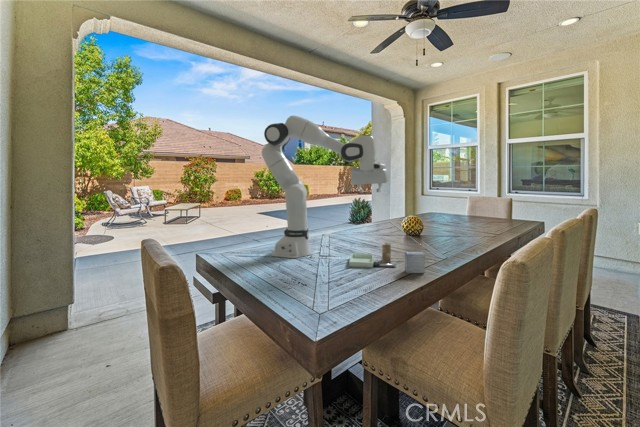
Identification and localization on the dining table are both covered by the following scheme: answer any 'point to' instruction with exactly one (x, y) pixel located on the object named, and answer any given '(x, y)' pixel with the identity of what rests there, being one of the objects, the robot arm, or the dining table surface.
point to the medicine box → (414, 262)
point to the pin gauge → (383, 265)
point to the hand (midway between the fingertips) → (370, 192)
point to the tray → (361, 260)
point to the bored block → (386, 252)
